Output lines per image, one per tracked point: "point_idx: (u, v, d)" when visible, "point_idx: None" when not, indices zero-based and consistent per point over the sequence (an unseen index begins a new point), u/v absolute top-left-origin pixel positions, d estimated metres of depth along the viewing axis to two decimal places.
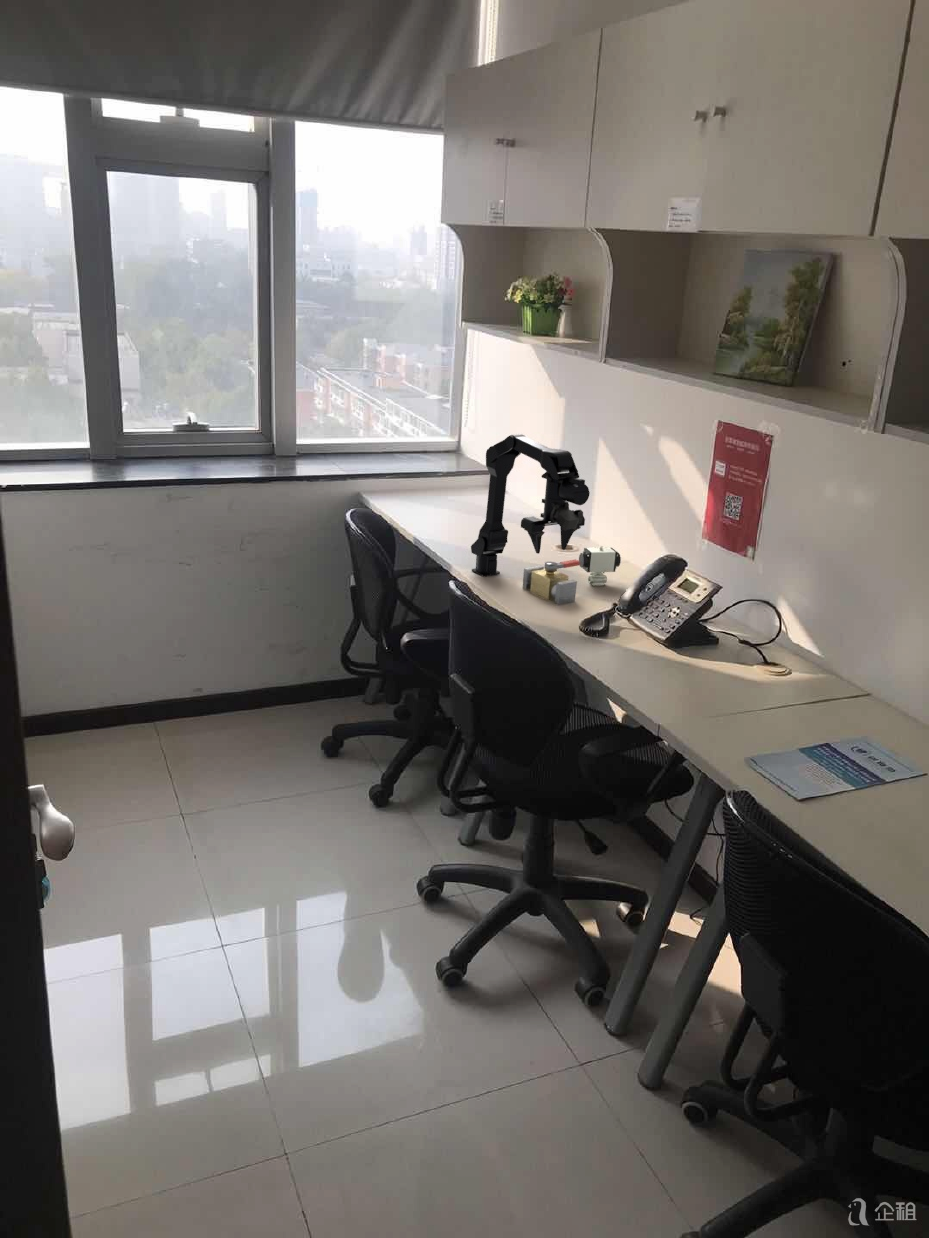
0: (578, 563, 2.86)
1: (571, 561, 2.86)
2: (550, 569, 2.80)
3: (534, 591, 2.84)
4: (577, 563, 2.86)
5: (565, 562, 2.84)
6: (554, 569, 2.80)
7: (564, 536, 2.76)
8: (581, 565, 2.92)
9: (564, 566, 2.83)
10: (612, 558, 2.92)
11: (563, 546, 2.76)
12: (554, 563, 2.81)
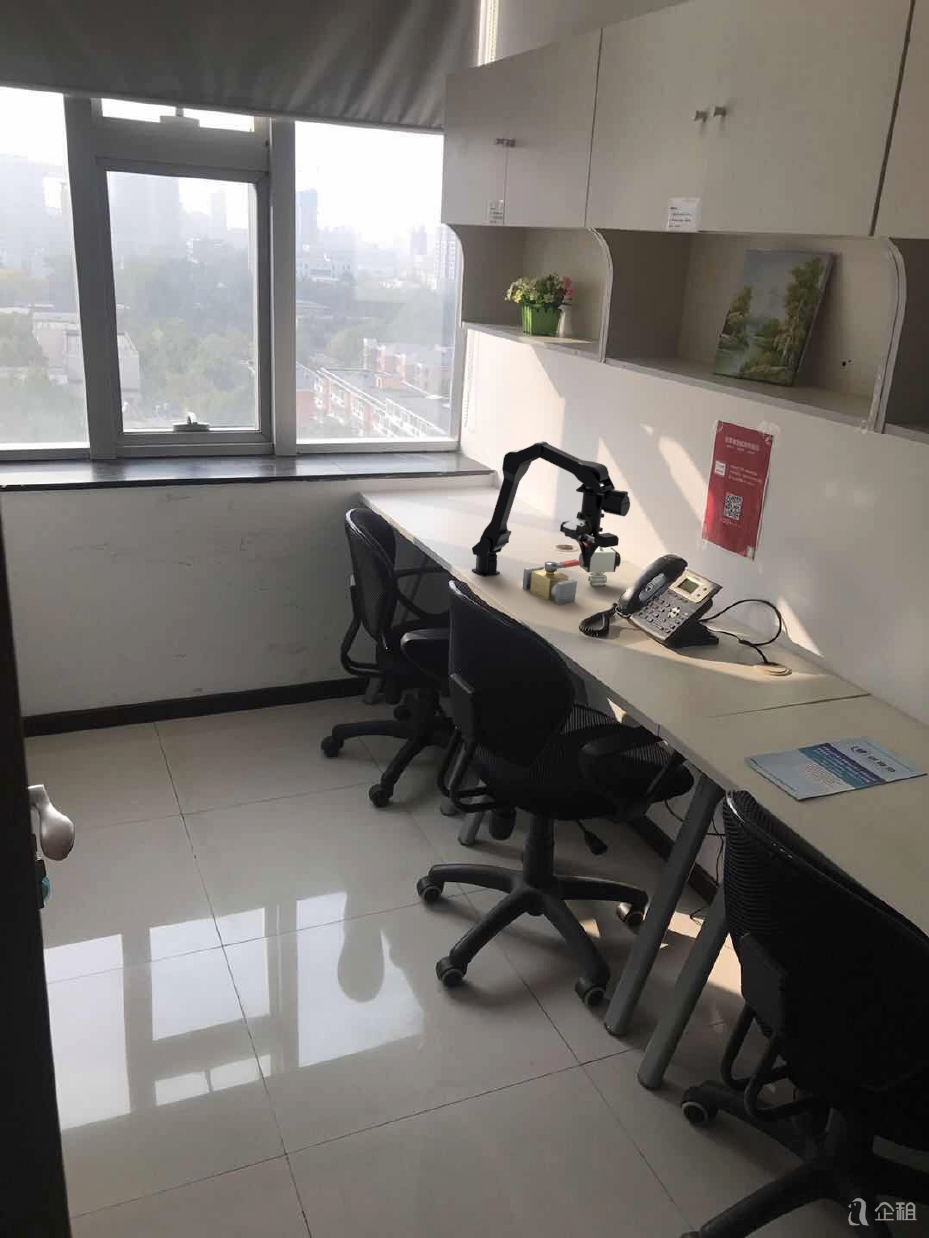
0: (578, 563, 2.86)
1: (571, 561, 2.86)
2: (550, 569, 2.80)
3: (534, 591, 2.84)
4: (577, 563, 2.86)
5: (565, 562, 2.84)
6: (554, 569, 2.80)
7: None
8: (581, 565, 2.92)
9: (564, 566, 2.83)
10: (612, 558, 2.92)
11: None
12: (554, 563, 2.81)
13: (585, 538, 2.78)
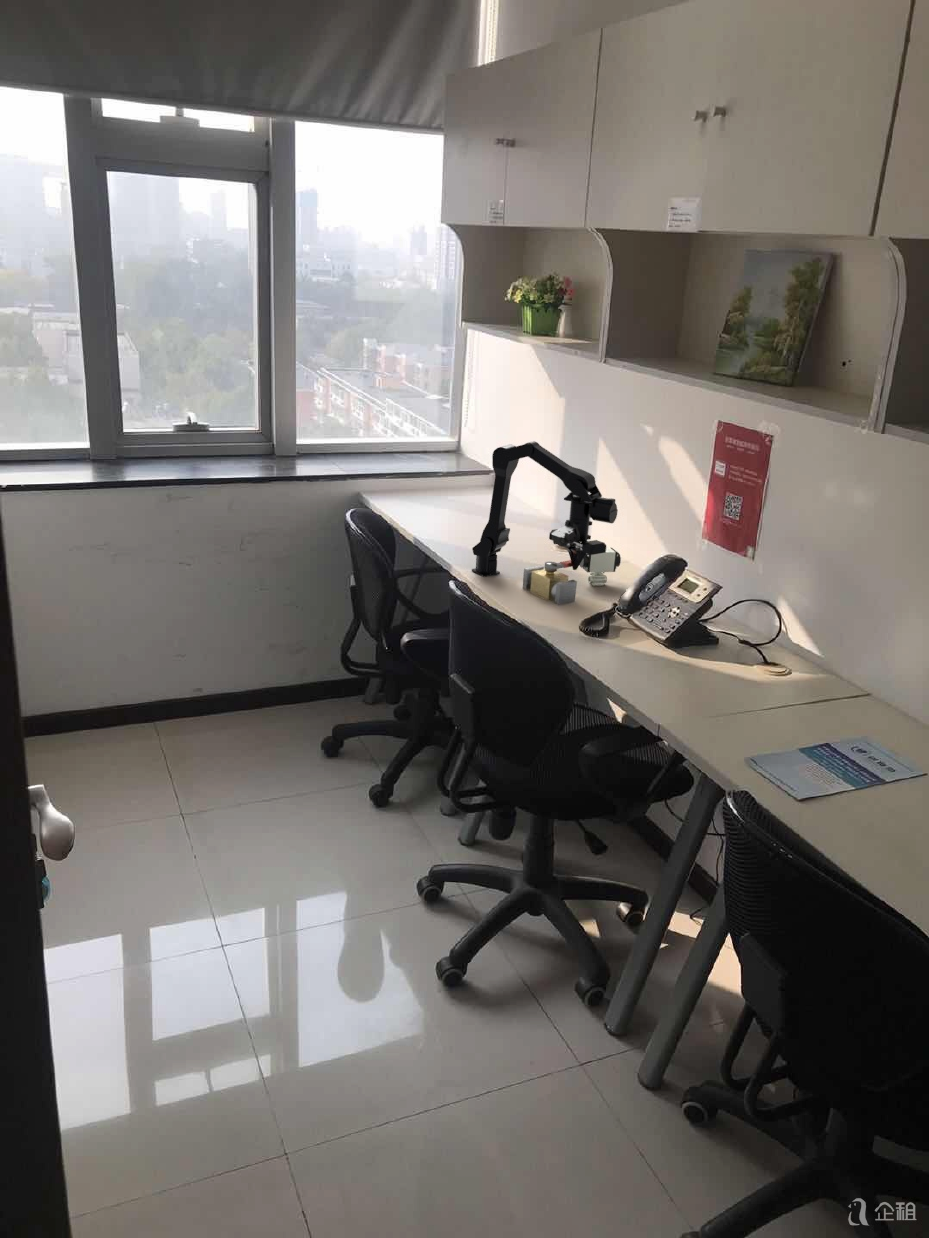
0: None
1: None
2: (550, 569, 2.80)
3: (534, 591, 2.84)
4: None
5: (565, 562, 2.84)
6: (554, 569, 2.80)
7: None
8: (581, 565, 2.92)
9: (564, 566, 2.83)
10: (612, 558, 2.92)
11: None
12: (554, 563, 2.81)
13: (574, 546, 2.83)
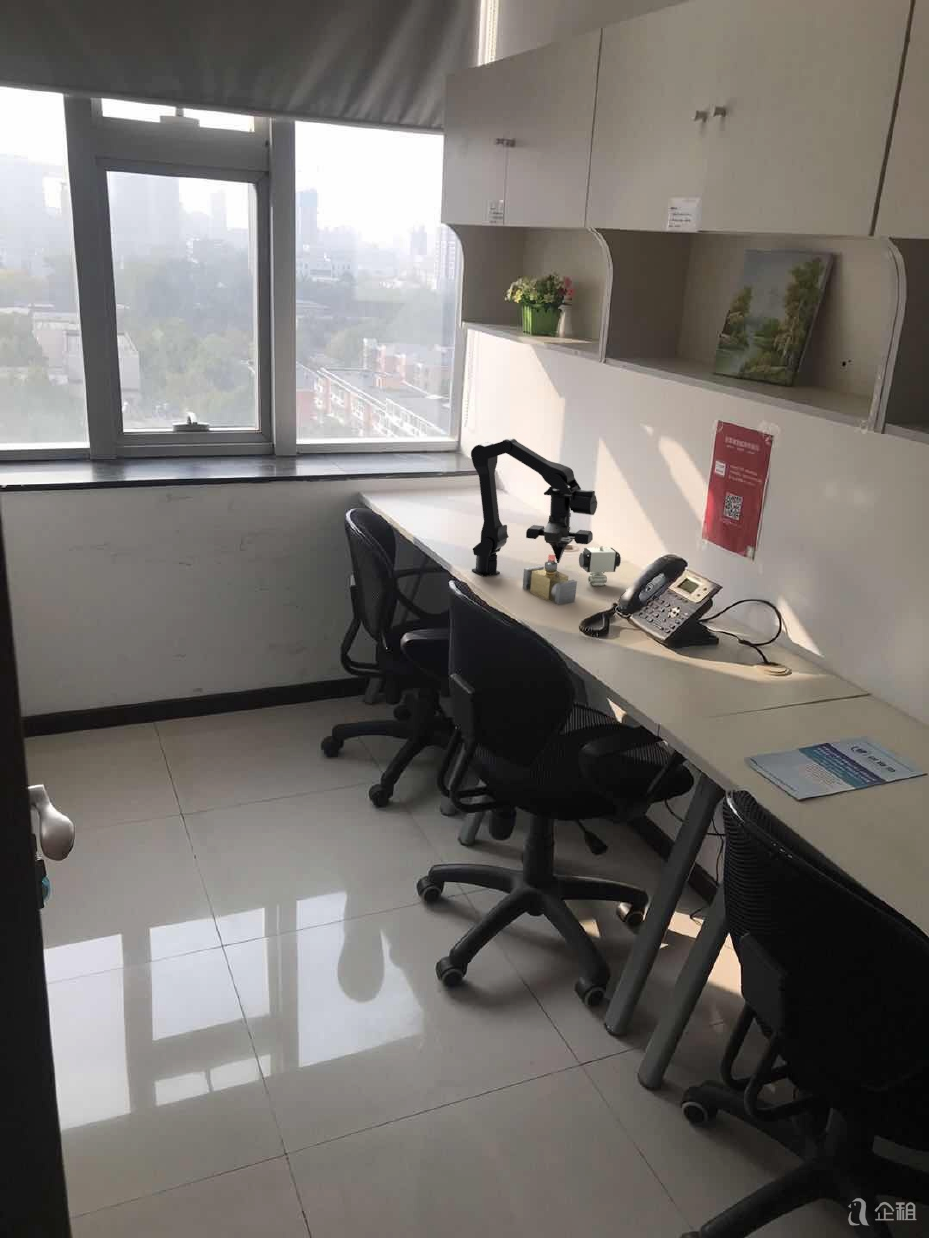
0: None
1: (551, 557, 2.89)
2: (555, 569, 2.80)
3: (534, 591, 2.84)
4: None
5: (551, 559, 2.86)
6: (556, 568, 2.81)
7: None
8: (581, 565, 2.92)
9: None
10: (612, 558, 2.92)
11: None
12: (552, 562, 2.82)
13: None
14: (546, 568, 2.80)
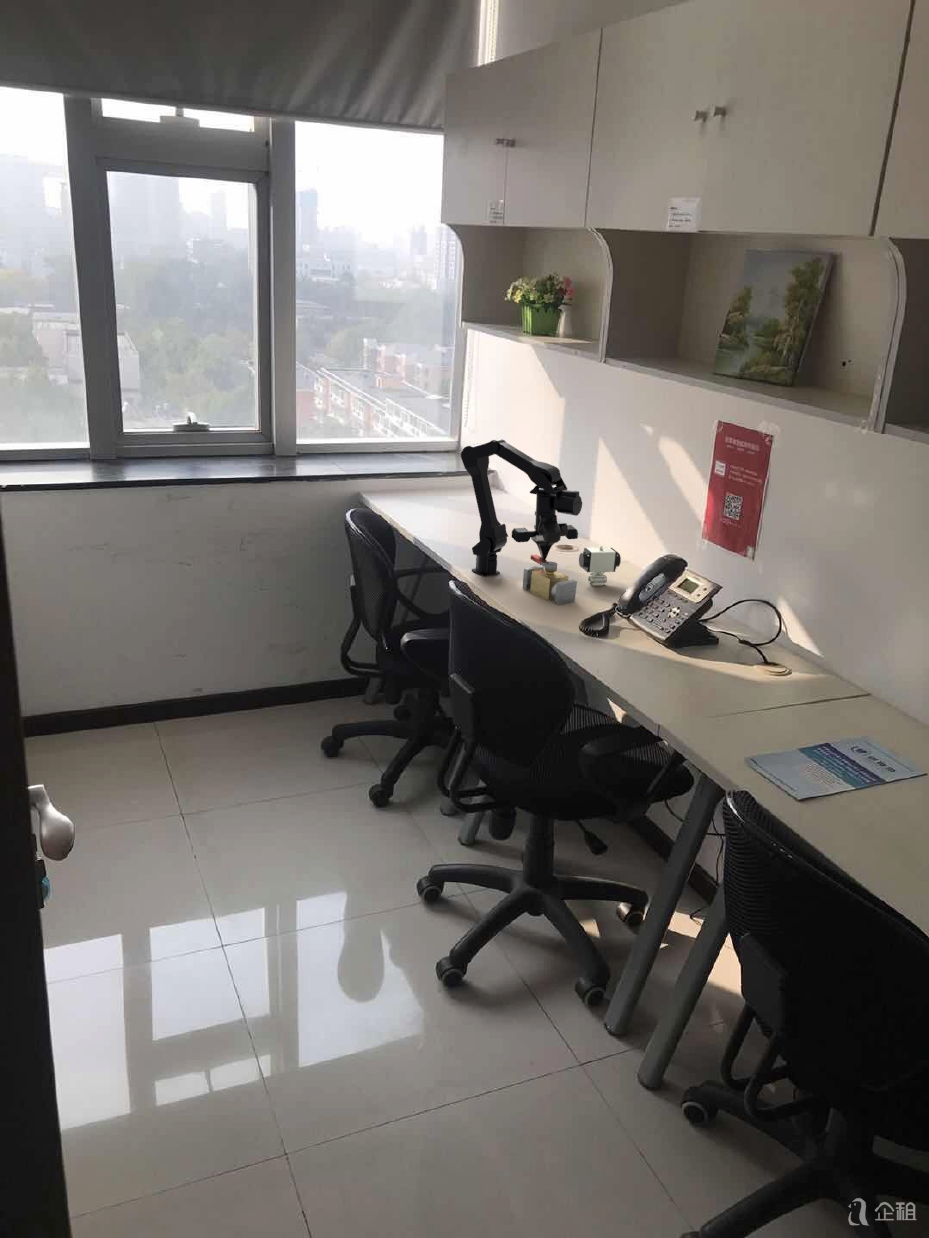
0: None
1: (537, 557, 2.88)
2: (556, 568, 2.81)
3: (534, 591, 2.84)
4: None
5: (541, 559, 2.86)
6: None
7: None
8: (581, 565, 2.92)
9: None
10: (612, 558, 2.92)
11: (543, 558, 2.88)
12: (551, 562, 2.82)
13: None
14: (549, 569, 2.80)
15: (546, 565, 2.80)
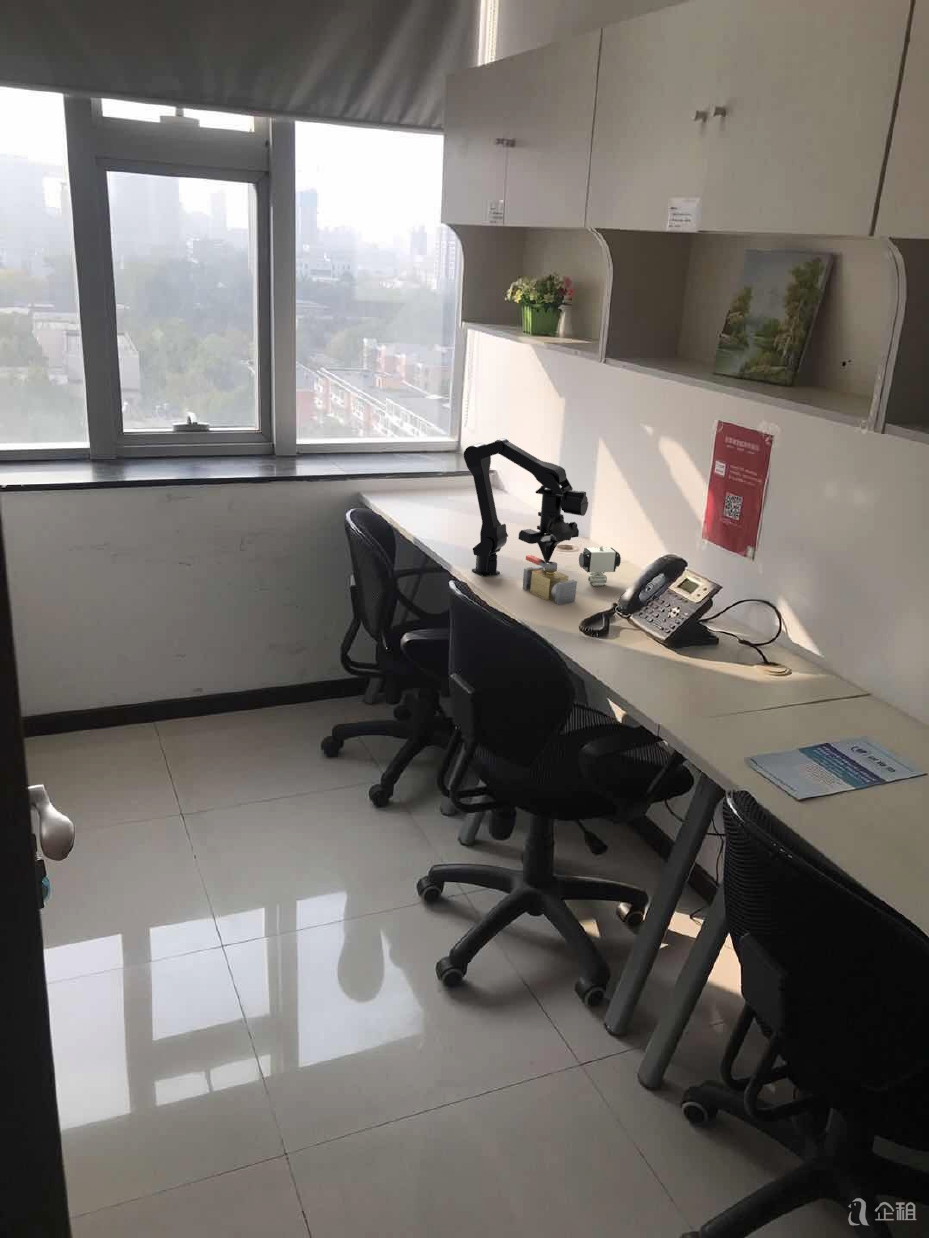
0: None
1: (533, 557, 2.87)
2: (556, 568, 2.81)
3: (534, 591, 2.84)
4: None
5: (538, 559, 2.85)
6: None
7: None
8: (581, 565, 2.92)
9: None
10: (612, 558, 2.92)
11: None
12: (550, 562, 2.82)
13: None
14: (550, 569, 2.80)
15: (547, 565, 2.80)
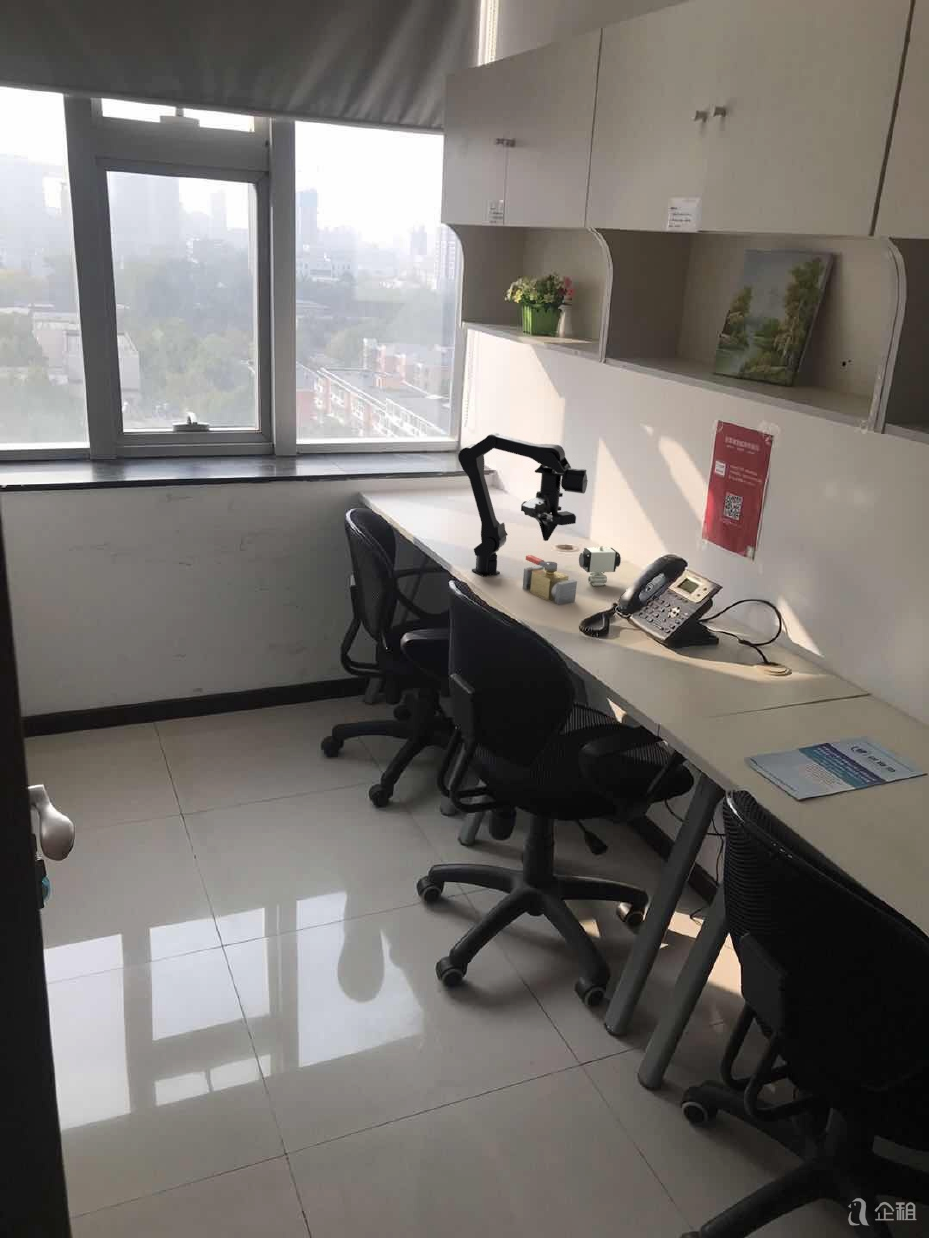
0: None
1: (533, 557, 2.87)
2: (556, 568, 2.81)
3: (534, 591, 2.84)
4: None
5: (538, 559, 2.85)
6: None
7: None
8: (581, 565, 2.92)
9: None
10: (612, 558, 2.92)
11: None
12: (550, 562, 2.82)
13: (545, 517, 2.89)
14: (550, 569, 2.80)
15: (547, 565, 2.80)
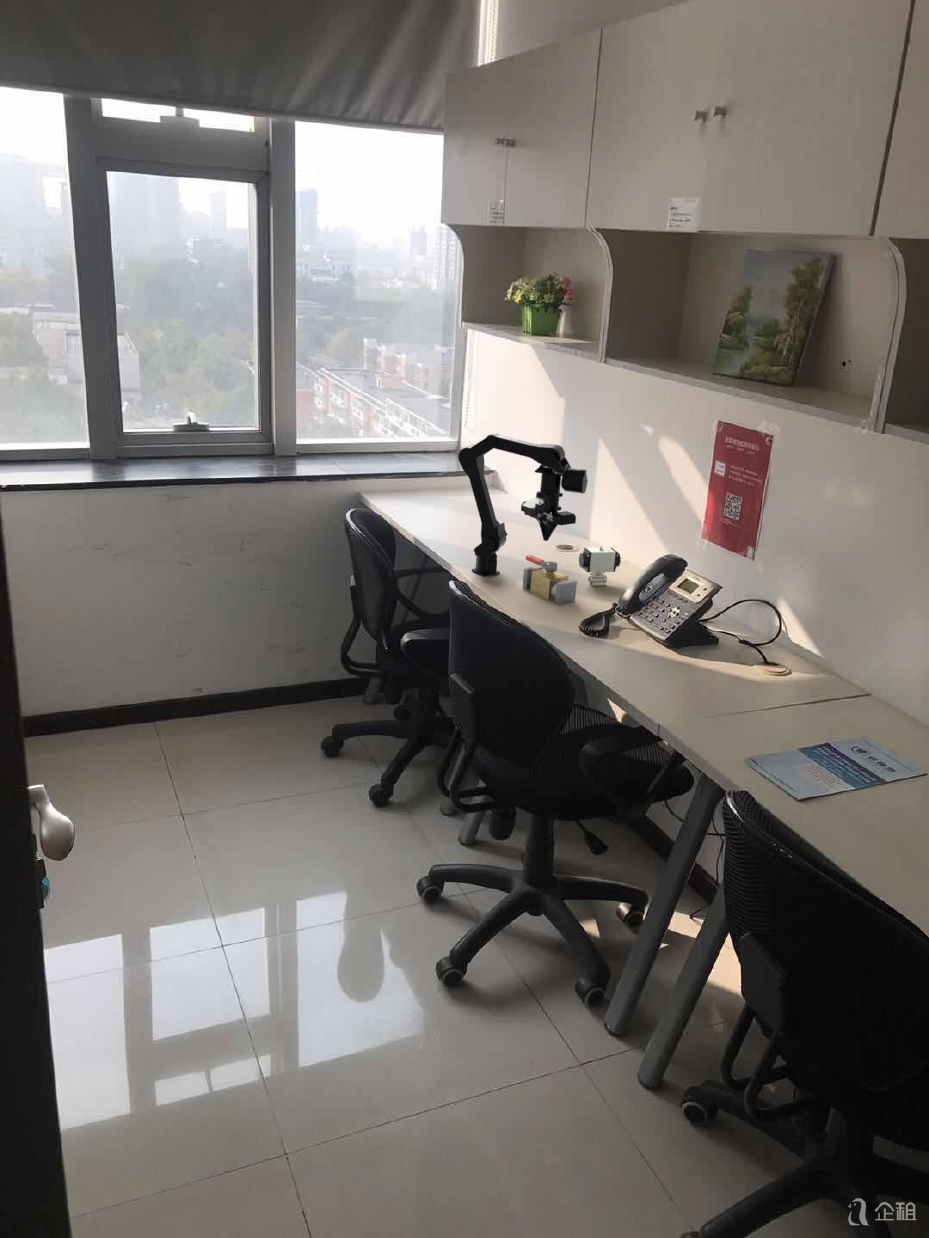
0: None
1: (533, 557, 2.87)
2: (556, 568, 2.81)
3: (534, 591, 2.84)
4: None
5: (538, 559, 2.85)
6: None
7: None
8: (581, 565, 2.92)
9: None
10: (612, 558, 2.92)
11: None
12: (550, 562, 2.82)
13: (545, 517, 2.89)
14: (550, 569, 2.80)
15: (547, 565, 2.80)
